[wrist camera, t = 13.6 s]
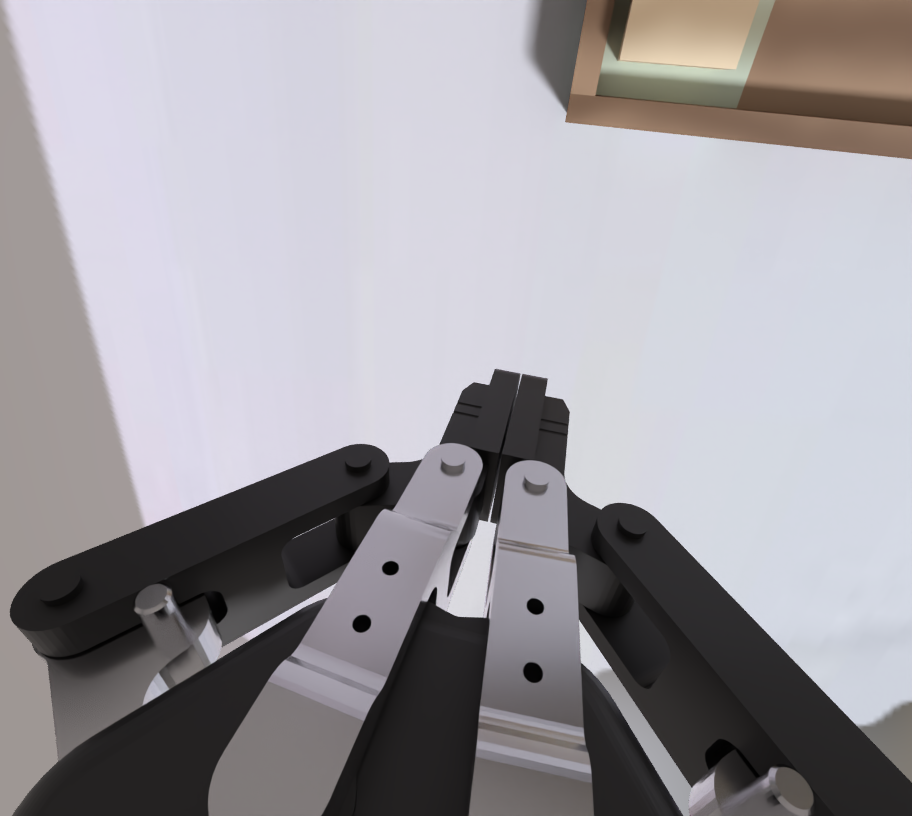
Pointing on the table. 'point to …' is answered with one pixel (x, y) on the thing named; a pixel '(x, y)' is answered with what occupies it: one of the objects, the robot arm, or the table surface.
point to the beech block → (687, 32)
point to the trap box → (764, 79)
